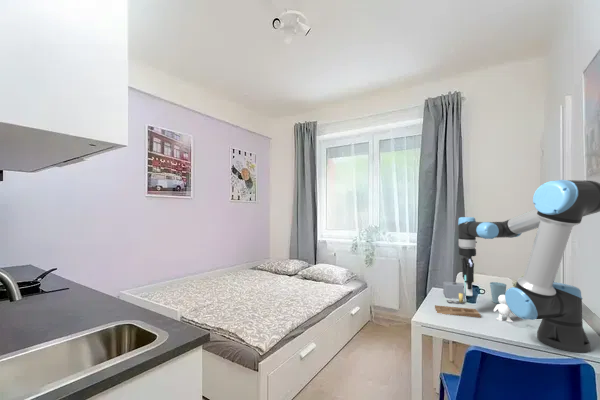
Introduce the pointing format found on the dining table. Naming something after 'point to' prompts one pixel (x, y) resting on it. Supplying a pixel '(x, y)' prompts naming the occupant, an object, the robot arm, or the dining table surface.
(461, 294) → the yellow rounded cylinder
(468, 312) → the socket board
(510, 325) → the dining table surface
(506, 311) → the figurine
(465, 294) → the peg
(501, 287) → the cup
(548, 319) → the robot arm
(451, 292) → the housing
